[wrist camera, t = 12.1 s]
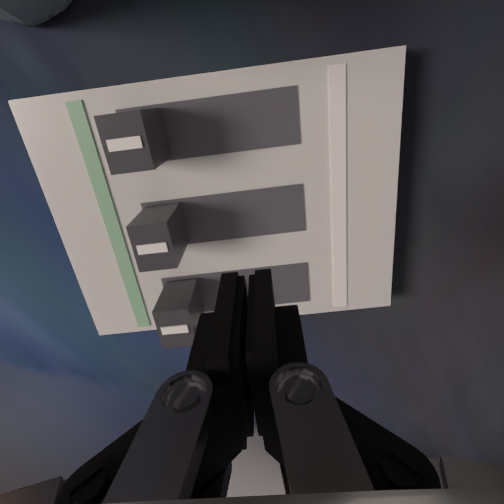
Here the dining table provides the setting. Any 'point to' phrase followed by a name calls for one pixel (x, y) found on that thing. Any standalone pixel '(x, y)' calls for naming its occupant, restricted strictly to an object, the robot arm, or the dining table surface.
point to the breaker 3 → (178, 313)
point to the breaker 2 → (158, 237)
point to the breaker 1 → (133, 140)
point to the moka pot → (31, 10)
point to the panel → (234, 182)
